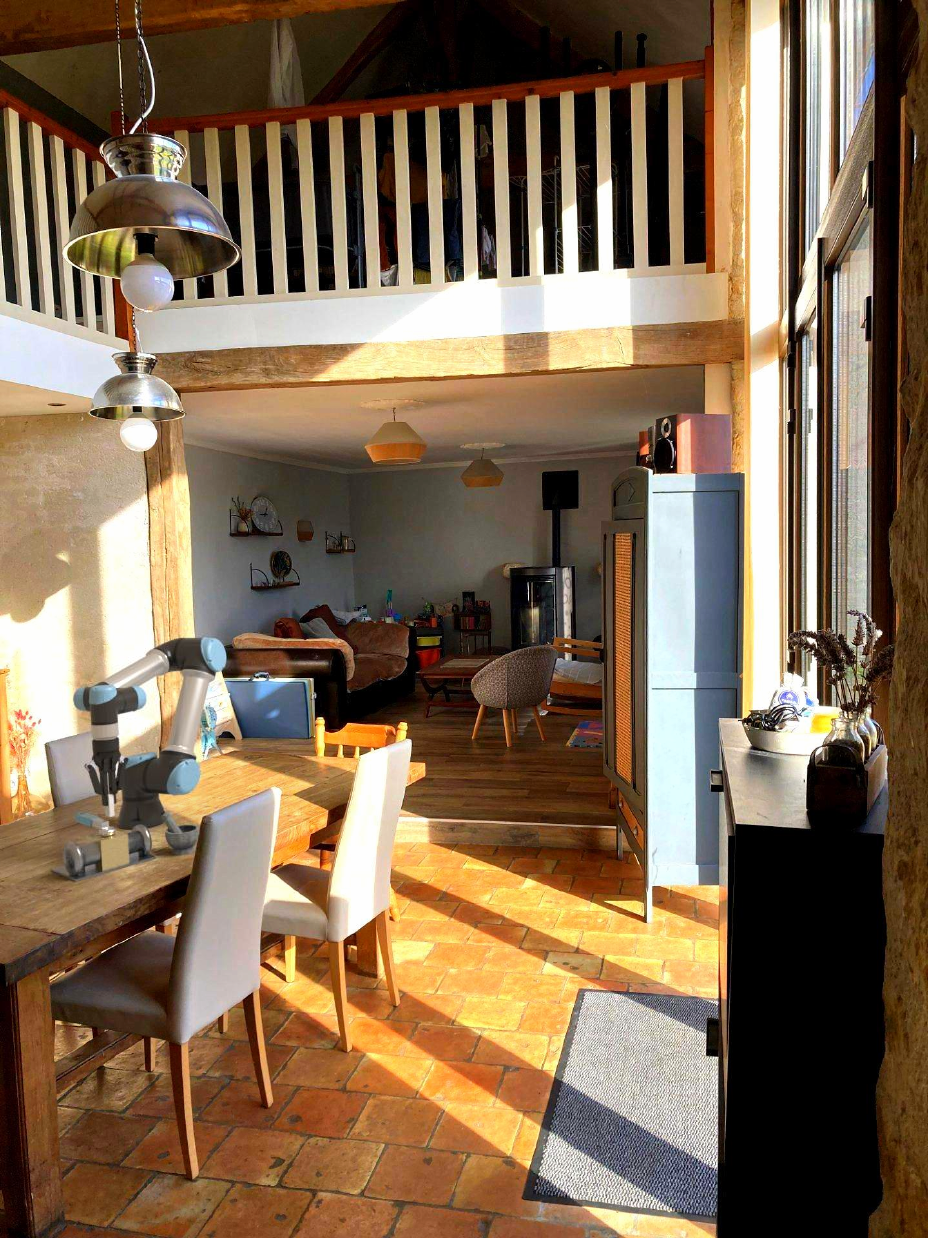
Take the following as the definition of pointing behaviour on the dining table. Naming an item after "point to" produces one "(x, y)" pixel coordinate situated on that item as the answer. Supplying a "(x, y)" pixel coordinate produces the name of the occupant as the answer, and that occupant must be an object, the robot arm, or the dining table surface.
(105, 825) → the lever
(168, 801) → the dining table surface
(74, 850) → the valve body
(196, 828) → the mortar and pestle
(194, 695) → the robot arm
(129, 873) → the dining table surface
